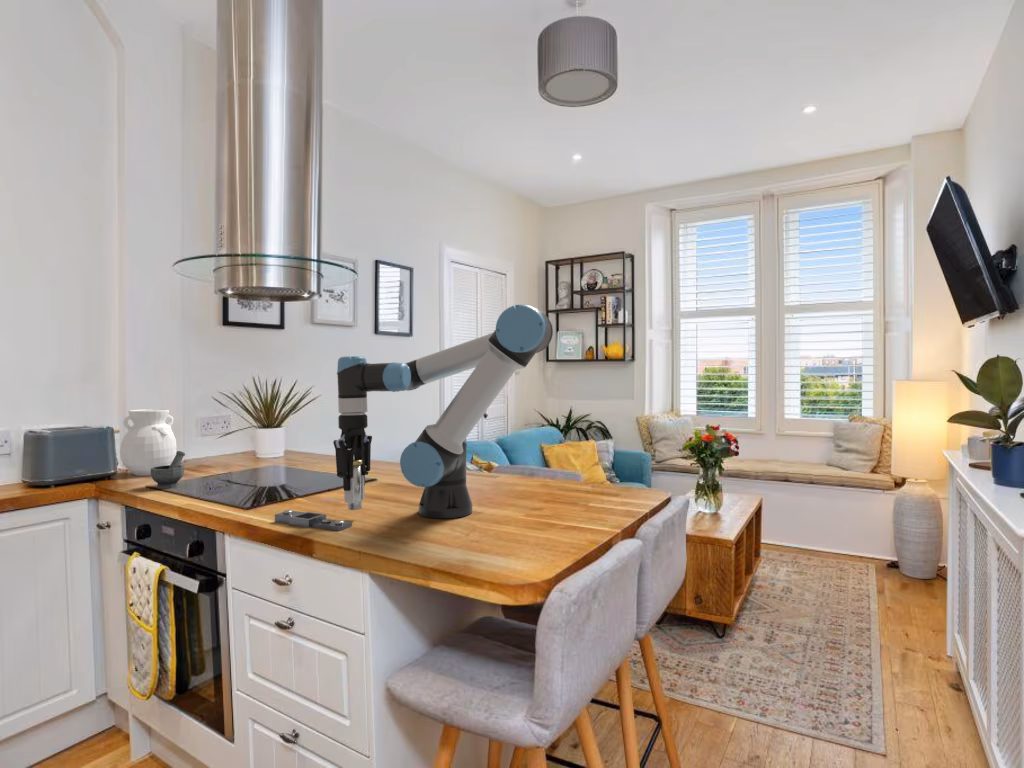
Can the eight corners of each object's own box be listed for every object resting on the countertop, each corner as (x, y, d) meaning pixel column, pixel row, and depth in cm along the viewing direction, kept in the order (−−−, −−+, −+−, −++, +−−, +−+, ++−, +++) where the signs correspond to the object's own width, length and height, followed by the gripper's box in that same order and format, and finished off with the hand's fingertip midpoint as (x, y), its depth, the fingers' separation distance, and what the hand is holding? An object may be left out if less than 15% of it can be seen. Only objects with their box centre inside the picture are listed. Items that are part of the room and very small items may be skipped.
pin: (366, 507, 153) (365, 459, 153) (356, 510, 149) (355, 461, 149) (353, 506, 155) (352, 458, 155) (342, 509, 151) (341, 461, 151)
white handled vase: (164, 468, 233) (163, 407, 232) (185, 473, 222) (185, 409, 221) (111, 474, 217) (111, 410, 217) (132, 480, 207) (131, 412, 206)
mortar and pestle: (163, 491, 188) (163, 455, 188) (144, 488, 191) (144, 453, 191) (193, 485, 198) (193, 450, 198) (174, 483, 202) (174, 449, 201)
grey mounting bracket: (353, 525, 146) (353, 515, 146) (337, 531, 140) (337, 521, 140) (290, 517, 154) (290, 507, 154) (272, 522, 148) (272, 512, 148)
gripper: (361, 411, 161) (362, 493, 161) (320, 415, 145) (322, 506, 146) (383, 412, 158) (384, 495, 158) (343, 416, 142) (345, 508, 143)
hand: (354, 500), depth 152 cm, fingers closed on pin, 3 cm apart
